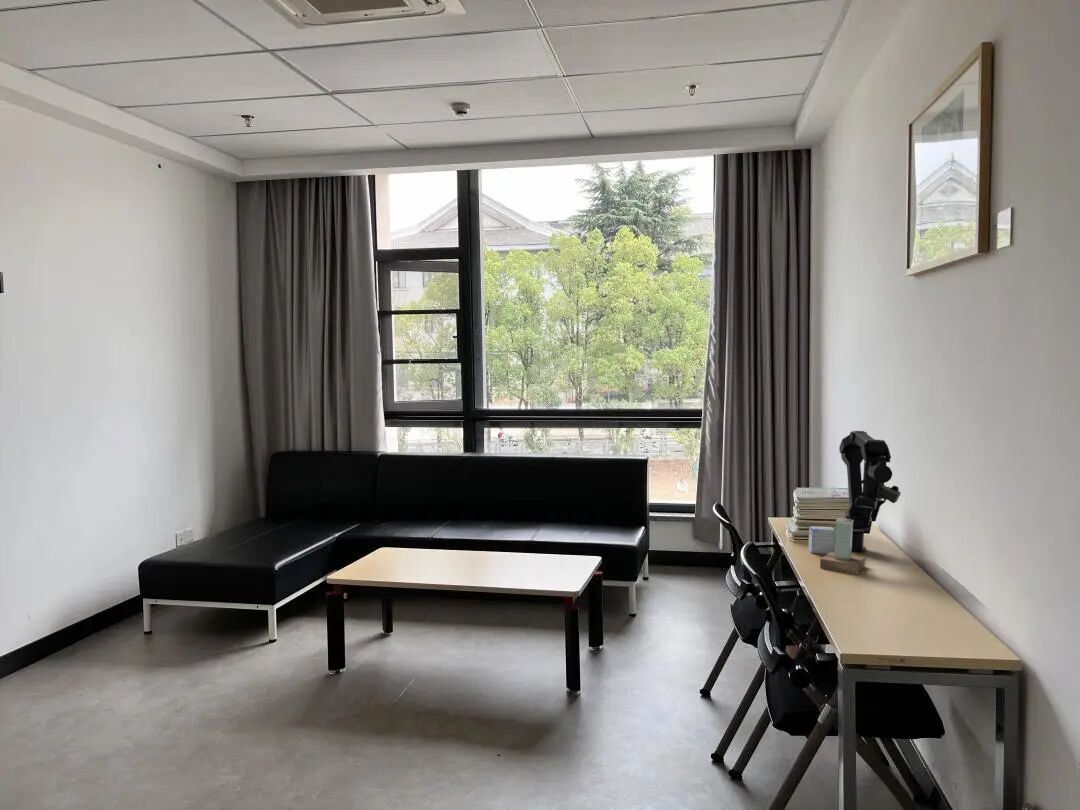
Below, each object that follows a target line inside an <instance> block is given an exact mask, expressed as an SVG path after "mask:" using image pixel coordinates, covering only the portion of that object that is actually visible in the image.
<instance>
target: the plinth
mask: <svg viewBox="0 0 1080 810" xmlns="http://www.w3.org/2000/svg"><path fill="white" fill-rule="evenodd" d="M834 557H835V551H834V552H829V553H828V554H825V555H824V556H823V557H821V558H820V560H819V561H820V564H819V568H820V569H825V570H829V569H830V571H835V570H836V572H840V571H843V572H842V573H845V572H849V573H848V574H851V573H854V574H853V575H857V574H858V573H859V572H860V571H861V570H863V568H865V567H864V566H866V563H865V562H866V557H863V556H859V555H858V556H857V555H852V554H851V559H850V560H849V561H846V560H840V559H834ZM859 570H860V571H859ZM858 571H859V572H858ZM857 572H858V573H857ZM856 573H857V574H856Z"/></svg>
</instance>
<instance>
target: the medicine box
mask: <svg viewBox="0 0 1080 810" xmlns="http://www.w3.org/2000/svg"><path fill="white" fill-rule="evenodd" d="M835 537H836V529H834V528H833V527H832V526H814V525H813V526H811V525H810V526H809V529H808V547H807V548H808V551H809V552H810V553H811V554H821V555H822V554H825V555H827V554H828V553H829V552H835Z"/></svg>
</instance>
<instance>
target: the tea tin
mask: <svg viewBox="0 0 1080 810" xmlns="http://www.w3.org/2000/svg"><path fill="white" fill-rule="evenodd" d="M853 521H854V519H846V518H844V517H837V518H836V520H835V531H836V532H835V549H834V552H835V557H834V559H840V560H846V561H849V560H850V559H851V555H852V533H853Z"/></svg>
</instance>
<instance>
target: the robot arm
mask: <svg viewBox="0 0 1080 810" xmlns="http://www.w3.org/2000/svg"><path fill="white" fill-rule="evenodd" d="M838 447H839V449H838V451H839V454H840V456H841V461H843V463H844V464H845V465H846V470H847V472H846V473H847V488H848V504H849V505H848V507H847V508H846V510H845V513H844V517H843V518H846V519H854V521H853V533H852V551H853V552H859V553H862V552H863V551H865V550H866V549H867V547H866V546H864V539H865V534H867V535H869V534H870V533H871V529H872V523H873V522H876V521H877V518H878V515H879V512H880V509H881V506H882V505H883V504H885V503H886V502H887V501H889V503H892V504H895V503H896V502H897V501H898V500H899V497H900V496H901V491H899V490H900V489H899V486H897V485H893V486H891V487H890V486H887V485H885V484H886V483H887V482H889V481H891V479H892V477H893V471H892V469H891V467H890V466H888V465H887V463H891V459H892V455H891V453H890V448H889V445H888V443H886V441H885V440H883V439H875V438H873V437H872V436H870V435H869V434H868V432H867V431H864V430H853V431H852V430H851V431H850V433H849V435H846V436H845V437H843V438H842V439H841V442H840V443H839V446H838ZM862 462H864V463H863V477H862V467H861V464H862ZM852 551H851V552H852Z"/></svg>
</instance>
